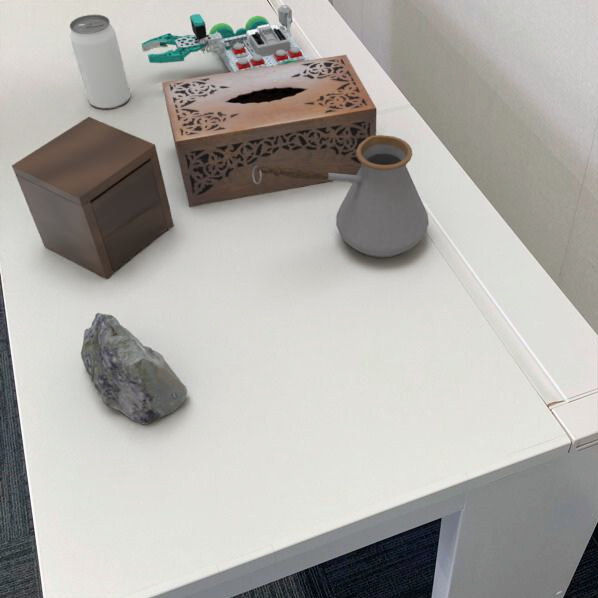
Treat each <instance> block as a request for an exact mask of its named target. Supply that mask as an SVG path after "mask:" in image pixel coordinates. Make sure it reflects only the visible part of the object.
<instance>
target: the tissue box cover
mask: <svg viewBox="0 0 598 598" xmlns="http://www.w3.org/2000/svg"><path fill="white" fill-rule="evenodd" d="M161 86H162V90H163V96H164V99H165V105H166V109H167V113H168V119H169V124H170V128H171V129H170V130H171V133H172V138H173V142H174V147H175V153H176V156H177V161H178V165H179V169H180V173H181V178H182V182H183V187H184V190H185V195H186V198H187V202H188V206H189V208H190V207H195V206H200V205H207V204H212V203H218V202H223V201H230V200H234V199H240V198H245V197H246V198H247V197H251V196H256V195H263V194H268V193H275V192H279V191H285V190H289V189H295V188H296V189H297V188H301V187H307V186H311V185H318V184H324V183H327V182H328V183H329V182H335V180H328V179H327V180H317V179H295V178H292V177H288V176H284V175H281V174H280V175H279V176H275V175H274V174H273V173H268V174H265V173H262V178H261V182H260V184H255V183H254V181H253V177H252V172H253V168H254V166H265V165H267V166H269V167H274V166H276V165H279V166H280V167H281V168H287V167H300V168H306V169H312V170H317V171H323V172H328V173H336V174H348V175H357V173H358V171H359V170H360V168H361V166H362V164H361V162H360V161H359V160H358V158H357V156H356V150H357V148H358V146H359V145H360V143H361V142H363V141H364V140H365V139H367V138H368V137H370V136H372V135H377V107H376V105H375V103H374V102H373V100H372V98H371V96H370V94H369V92H368V91H367V89H366V87H365V86H364V84H363V82H362V81H361V79H360V76H359V75H358V73H357V71H356V70H355V68H354V66H353V64H352V63H351V61H350V59H349V57H348V55H347V54H342V55H336V56H335V55H334V56H329V57H323V58H321V57H320V58H315V59H309V60H308V61H301V62H295V63H288V64H282V65H278V64H277V65H275V66H268V67H262V68H255V69H248V70H242V71H235V72H230V71H229V72H223V73H216V74H210V75H203V76H198V77H197V76H196V77H189V78H183V79H176V80H169V81H162V82H161ZM254 178H255V182H256V183H258V182H259V179H260V172H258V171H257V167H256V168H255V171H254Z"/></svg>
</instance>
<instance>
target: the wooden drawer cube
mask: <svg viewBox="0 0 598 598" xmlns="http://www.w3.org/2000/svg"><path fill="white" fill-rule="evenodd" d="M11 168H12V170H13V172H14V174H15V177H16V180H17V182H18V184H19V187H20V189H21V192H22V195H23V197H24V199H25V202H26V205H27V207H28V209H29V212H30V215H31V217H32V219H33V222H34V224H35V227H36V230H37V232H38V235H39V237H40V240H41V241H42V244H43V246H44V247H45V248H46V249H48V250H50V251H52V252H54V253H56V254H58V255H60V256H62V257H63V258H66V259H67V260H69V261H72V262H73V263H75V264H77V265H79V266H81V267H83V268H85V269H87V270H89V272H92V273H93V274H96V275H98V276H99V277H101V278H104V279H106V280H108V279H109V278H111V277H112V276H113V275H114V272H115V271H116V270H117V269H119V268H120V267H121V266H122V265H124V264H125V263H126V262H127V261H129V260H130V259H132V257H134V256H135V255H136V254H138V253H139V252H140V251H142V249H144V248H145V247H146V246H148V245H149V244H150V243H152V242H153V241H154V240H155V239H156V238H158V237H159V236H160V235H161V234H162V233H164V232H165V231H169V230H170V229H172V228H174V226H175V224H174V220H173V215H172V212H171V206H170V202H169V199H168V193H167V189H166V185H165V181H164V177H163V172H162V168H161V163H160V159H159V156H158V151H157V146H156V143H155V144H154V143H153V142H150V141H148V140H145V139H143V138H141V137H138V136H136V135H133V134H131V133H128V132H126V131H124V130H122V129H119V128H118V127H114V126H112V125H110V124H107V123H105V122H103V121H100V120H98V119H95V118H94V117H91V116H88V117H86V118H84V119H82V120H81V121H80V122H78V123H77V124H74V125H73V126H72V127H70V128H69V129H67V130H65V131H64V132H62V133H61V134H59V135H58V136H56V137H54V138H53V139H51V140H49V141H48V142H46V143H44V144H43V145H41V146H40V147H39V148H37V149H35V150H34V151H33V152H30V153H29V154H27V155H26V156H24V157H23V158H21V159H19V160H18V161H16V162H15V163H13V164H12V165H11Z"/></svg>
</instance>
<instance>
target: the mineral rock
mask: <svg viewBox="0 0 598 598" xmlns="http://www.w3.org/2000/svg"><path fill="white" fill-rule="evenodd" d="M80 358H81V360H82V362H83V365H84V367H85V372H86V373H87V374H88V375H89V376H91V377H90V382H91V383H93V387H94V388H95V390H97V393H98V395H99V396H100V397H102V400H103V403H104V404H105V405H106V406H107V407H109V408H113V409H115V410H117V411H120V412H122V413H123V414H124V415H125V416H126V417H128V418H129V419H131V420H132V421H135V422H139V423H141V424H142V425H147V424H150V423H151V422H153V421H154V420H155V419H159V418H162V417H166V416H168V415H170V414H172V413H173V412H175V411H176V410H177V409H178V408H179V407H180V406H181V405H182V404H183V403H184V402H185V400H187V399H186V398H187V394H188V389H187V386H186V385H185V384H184V383H183V382H182V381H181V379H180V378H179V376H178V375H177V374H176V373H175V371H174V370H173V369H172V368H171V366H170V365H169V363H167V361H166V359H165V357H164V356H163V354H162V353H160V352H158V351H155V350H154V349H152V348H151V347H149V346H145V345H143V344H142V342H141V341H140V339H138V338H137V337H136V336H135V335H134V334H132V332H131V331H130V330H129V329H127V328H126V327H124V326H123V325H122V324H121V323H120V322H119V320H118V319H117V318H116V317H115V316H113V314H106V313H101V312H97V313H95V316H94V319H93V320H92V321H91V326H90V327H89V328H86V329H85V330H84V333H83V342H82V346H81V350H80ZM174 410H175V411H174ZM172 411H173V412H172ZM171 412H172V413H171ZM169 413H170V414H169ZM165 415H166V416H165ZM152 420H153V421H152ZM146 423H147V424H146Z"/></svg>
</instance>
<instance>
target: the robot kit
mask: <svg viewBox="0 0 598 598" xmlns="http://www.w3.org/2000/svg"><path fill="white" fill-rule="evenodd" d="M277 13H278V22H279V23H280V25H279V26H278V24H273V25H270V23H269V21H268V20H267V19H266V17H264V16H260V15H255V16H252V17H250V18H249V19H248V20H247V21H246V23H245V27H244V28H243V27H240V28H238V29H236V30H234V29H233V27H232V26H230V25H229V24H228V23H224V22H219V23H216V24H214V25H213V26H212V27H211V29H210V30H209V33H208V34H207V28H206V22H205V20H204V18H203V17H202V15H201V14H199V13H196V14H191V15H190V16H189V19H190V24H191V29H192V32H193V34H185V35H182V36H181V35H173V34H172V33H170V32H169V33H165V34H162V35H160V36H156V37H154V38H151V39H148V40H146V41H144V42H142V43H141V48H142V51H143V52H144V53H145V52H148V51H151V50H153V49H156V48H168V47H169V45H171V46H175V50H174V49H169V50H167V51H165V52H161V53H150V54H149V53H148V54H147V58H148V63H151V64H166V63H178V62H185V58H186V57H187V56H189V55H190V54H191V53H196V52H199V51H201V52H202V54H203V55H204V54H205V53H207V54H210V53H215V52H217V54H218V55H219V56H220V58H221V59H222V61H223V63H224V64H225V66H226V68H227V69H228V71H229V72H235V71H242V70H248V69H255V68H262V67H268V66H275V65H282V64H288V63H295V62H301V61H308V60H310V59H309V57H307V56H306V54H305V52H304V51H303V50H302V49H301V48H300V47H299V45H298V44H297V43H296V41H295V40H294V38H293V37H292V32H291V27H292V23H293V11H292V9H291V7H290V6H288V5H287V4H283V5H281V6H280V7H279V8H278V9H277ZM234 31H235V32H234Z"/></svg>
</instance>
